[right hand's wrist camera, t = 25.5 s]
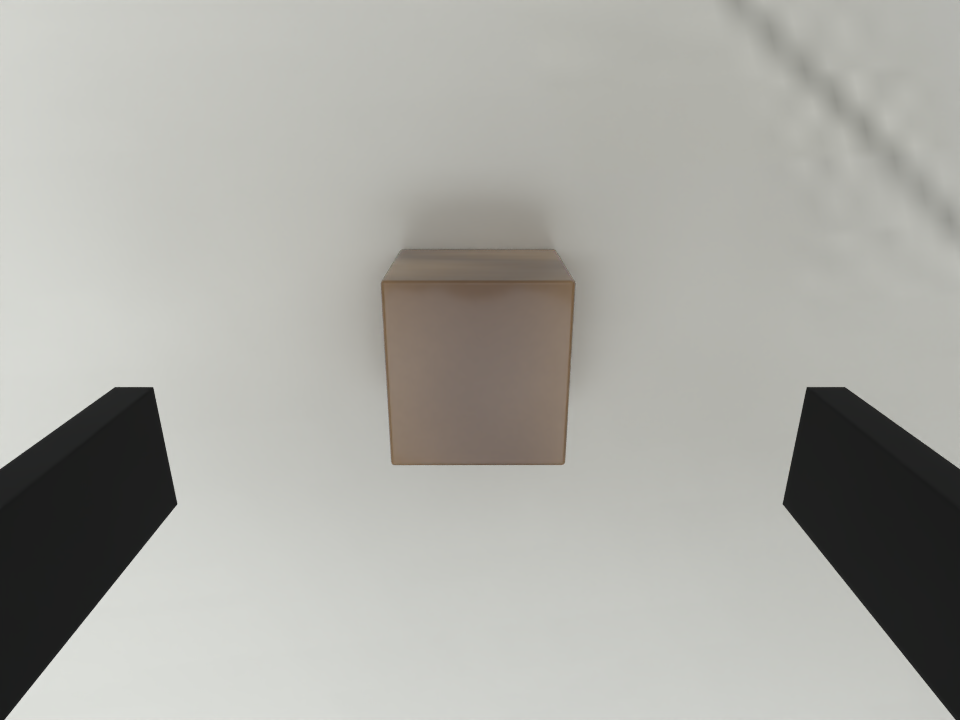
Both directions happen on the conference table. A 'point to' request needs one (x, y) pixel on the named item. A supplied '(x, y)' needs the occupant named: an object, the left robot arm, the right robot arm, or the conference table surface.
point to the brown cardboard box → (478, 356)
